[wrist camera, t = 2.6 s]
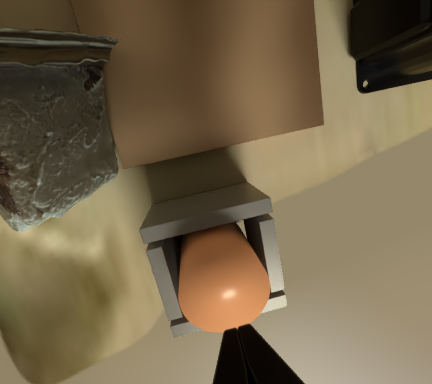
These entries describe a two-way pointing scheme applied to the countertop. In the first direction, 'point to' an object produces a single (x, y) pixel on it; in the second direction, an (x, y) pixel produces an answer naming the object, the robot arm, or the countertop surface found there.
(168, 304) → the housing
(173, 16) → the serving board
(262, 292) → the brown egg
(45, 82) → the chocolate cake
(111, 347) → the countertop surface
